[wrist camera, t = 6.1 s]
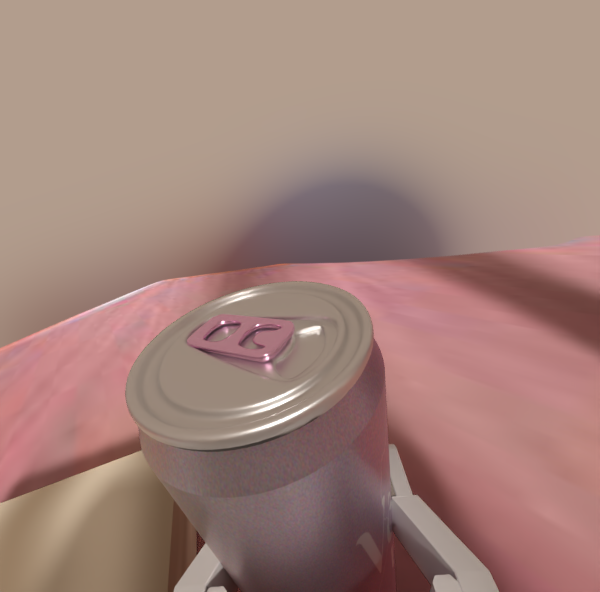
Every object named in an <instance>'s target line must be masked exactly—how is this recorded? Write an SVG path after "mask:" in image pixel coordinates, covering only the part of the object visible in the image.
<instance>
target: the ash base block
mask: <svg viewBox="0 0 600 592" xmlns="http://www.w3.org/2000/svg"><path fill="white" fill-rule="evenodd" d="M196 556H197V530H196V529H195V528H194V526H193V525H192V524H191V522H190V521H189V519H188V518H187V517H186V515H185V514H184V513H183V511H182V510H181V508H180V507H179V506H178V504H177V503H176V502H175V500H174V499H173V498H172V496H171V495H170V493H169V492H168V491H167V489H166V488H165V487H164V485H163V484H162V482H161V481H160V480H159V478H158V477H157V476H156V474H155V473H154V472H153V470H152V469H151V467H150V466H149V464H148V463H147V461H146V459H145V457H144V455H143V452H142V450H141V451H138V452H135V453H133V454H130V455H128V456H125V457H122V458H120V459H117V460H114V461H112V462H109V463H106V464H104V465H101V466H98V467H96V468H93V469H90V470H88V471H85V472H82V473H80V474H77V475H74V476H72V477H69V478H66V479H64V480H61V481H58V482H56V483H53V484H50V485H48V486H45V487H42V488H40V489H37V490H35V491H32V492H29V493H27V494H24V495H21V496H19V497H16V498H13V499H11V500H8V501H5V502H3V503H0V592H174V588H175V586H176V585H177V583H178V582H179V580H180V579H181V577H182V576H183V575H184V573H185V572H186V570H187V569H188V567H189V566H190V564H191V563H192V562H193V560H194V559H195V557H196Z"/></svg>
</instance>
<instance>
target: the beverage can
mask: <svg viewBox="0 0 600 592" xmlns="http://www.w3.org/2000/svg"><path fill="white" fill-rule="evenodd" d="M125 397H126V403H127V407H128V410H129V412H130V415H131V417H132V418H133V420H134V421H135V423H136V424H137V425H138V429H139V439H140V445H141V449H142V452H143V455H144V457H145V459H146V461H147V463H148V464H149V466H150V467H151V469H152V470H153V472H154V473H155V474H156V476H157V477H158V478H159V480H160V481H161V482H162V484H163V485H164V487H165V488H166V489H167V491H168V492H169V493H170V495H171V496H172V498H173V499H174V500H175V502H176V503H177V504H178V506H179V507H180V508H181V510H182V511H183V513H184V514H185V515H186V517H187V518H188V519H189V521H190V522H191V524H192V525H193V526H194V528H195V529H196V530H197V532H198V533H199V534H200V536H201V537H202V539H203V540H204V541H205V543H206V544H207V545H208V547H209V548H210V549H211V551H212V552H213V554H214V555H215V556H216V558H217V559H218V560H219V562H220V563H221V565H222V566H223V567H224V569H225V570H226V571H227V573H228V574H229V575H230V577H231V578H232V580H233V581H234V582H235V584H236V585H237V586H238V588H239V589H240V591H241V592H396V574H395V555H394V537H393V529H392V507H391V480H390V461H389V442H388V423H387V404H386V385H385V367H384V361H383V357H382V353H381V351H380V349H379V346H378V344H377V343H376V341H375V339H374V332H373V324H372V321H371V317H370V315H369V313H368V311H367V309H366V308H365V306H364V305H363V304H362V303H361V302H360V301H359V300H358V299H357V298H356V297H355V296H353V295H352V294H350V293H348V292H346V291H345V290H342V289H340V288H337V287H334V286H331V285H327V284H322V283H315V282H303V281H292V282H278V283H270V284H264V285H259V286H255V287H250V288H246V289H243V290H239V291H236V292H233V293H230V294H227V295H225V296H222V297H219V298H217V299H215V300H212V301H210V302H208V303H206V304H204V305H202V306H200V307H198V308H196V309H194V310H192V311H190V312H189V313H187V314H185V315H184V316H182V317H181V318H179V319H177V320H176V321H175V322H173V323H172V324H170V325H169V326H168V327H166V328H165V329H164V330H163V331H162V332H160V333H159V334H158V335H157V336H156V337H155V338H154V339H153V340H152V341H151V342H150V343H149V344H148V345H147V346H146V347H145V349H144V350H143V351H142V352H141V354H140V355H139V356H138V358H137V359H136V361H135V363H134V364H133V366H132V368H131V370H130V373H129V376H128V378H127V383H126V390H125Z"/></svg>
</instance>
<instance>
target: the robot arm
mask: <svg viewBox="0 0 600 592" xmlns="http://www.w3.org/2000/svg"><path fill="white" fill-rule="evenodd" d="M389 461H390V480H391V507H392V529H393V532H394V534H395V535H396V536H397V538H398V539H399V541H400V542H401V544H402V545H403V546H404V548H405V549H406V551H407V552H408V553H409V555H410V556H411V558H412V559H413V561H414V562H415V563H416V565H417V566H418V568H419V569H420V570H421V572H422V573H423V575H424V576H425V577H426V579H427V580H428V582H429V583H430V585H431V589H430V592H499V590H498V588H497V586H496V584H495V582H494V580H493V577H492V575H491V573H490V571H489V570H488V569H487V568H486V567H485V566H484V565H483V564H482V563H481V562H480V560H479V559H478V558H477V557H476V556H475V555H474V554H473V553H472V552H471V551H470V550H469V549H468V548H467V547H466V546H465V545H464V544H463V543H462V541H461V540H460V539H459V538H458V537H457V536H456V535H455V534H454V533H453V532H452V531H451V530H450V529H449V528H448V527H447V526H446V525H445V524H444V522H443V521H442V520H441V519H440V518H439V517H438V516H437V515H436V514H435V513H434V512H433V511H432V510H431V509H430V508H429V507H428V506H427V505H426V503H425V502H424V501H423V500H422V499H421V498H420V497H419V496H418V495H413V494H412V491H411V488H410V485H409V482H408V479H407V477H406V474H405V471H404V468H403V465H402V462H401V459H400V457H399V454H398V451H397V448H396V446H395V445H394V444H389ZM237 590H238V586H237V585H236V584H235V582H234V581H233V580H232V578H231V577H230V575H229V574H228V573H227V571H226V570H225V569H224V567H223V566H222V565H221V563H220V562H219V560H218V559H217V558H216V556H215V555H214V554H213V552H212V551H211V549H210V548H209V547H208V545H207V544H206V543H205V544H204V546H203V547H202V549H201V550H200V552H199V553H198V554H197V556H196V557H195V559H194V560H193V562H192V563H191V564H190V566H189V567H188V569H187V570H186V572H185V573H184V575H183V576H182V577H181V579H180V580H179V582H178V583H177V585H176V586H175V588H174V592H237Z"/></svg>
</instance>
